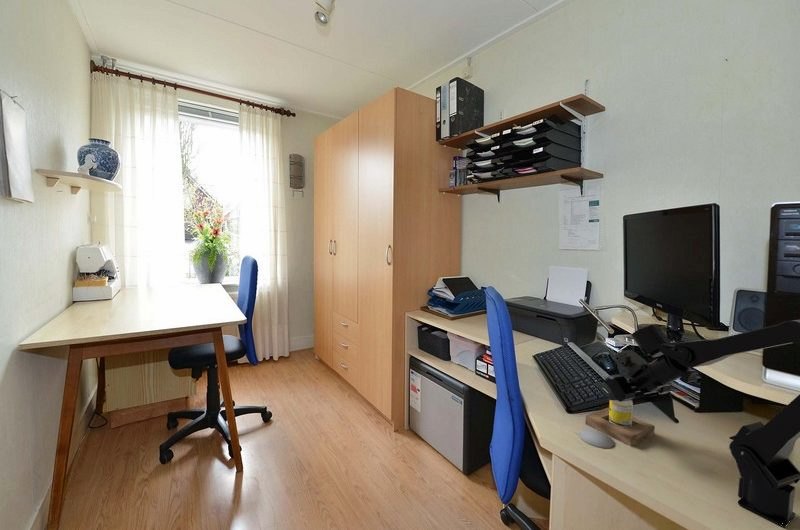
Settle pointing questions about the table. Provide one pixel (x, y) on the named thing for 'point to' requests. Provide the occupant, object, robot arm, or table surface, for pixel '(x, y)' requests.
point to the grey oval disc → (596, 438)
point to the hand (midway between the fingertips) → (616, 397)
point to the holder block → (627, 436)
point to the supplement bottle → (621, 413)
